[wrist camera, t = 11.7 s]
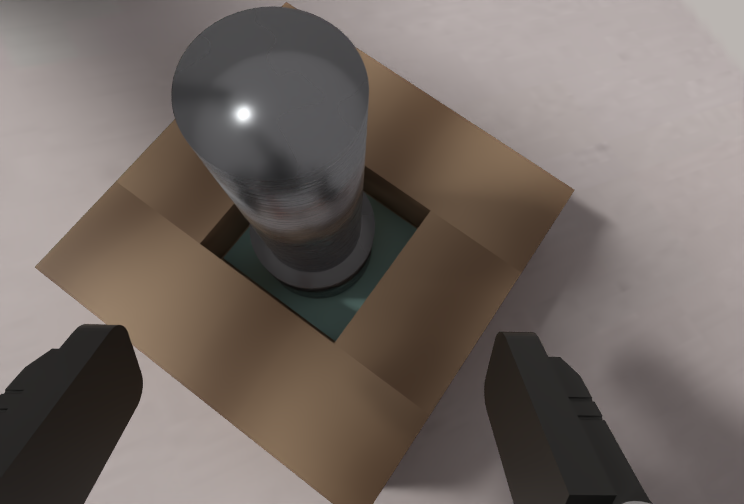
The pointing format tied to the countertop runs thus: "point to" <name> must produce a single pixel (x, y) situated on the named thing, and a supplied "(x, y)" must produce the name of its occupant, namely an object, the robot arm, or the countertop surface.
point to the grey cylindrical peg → (284, 140)
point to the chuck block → (326, 315)
